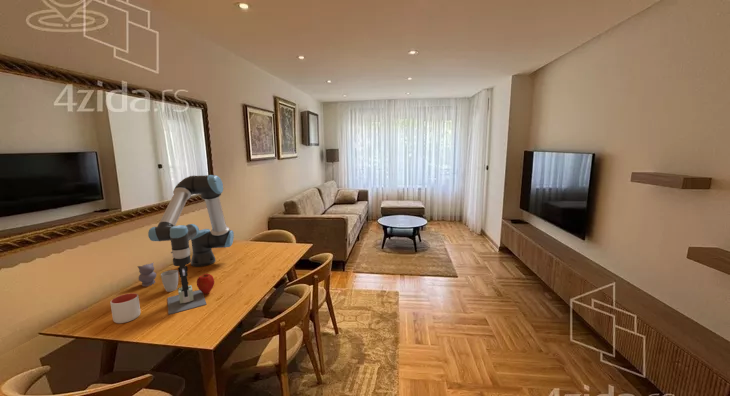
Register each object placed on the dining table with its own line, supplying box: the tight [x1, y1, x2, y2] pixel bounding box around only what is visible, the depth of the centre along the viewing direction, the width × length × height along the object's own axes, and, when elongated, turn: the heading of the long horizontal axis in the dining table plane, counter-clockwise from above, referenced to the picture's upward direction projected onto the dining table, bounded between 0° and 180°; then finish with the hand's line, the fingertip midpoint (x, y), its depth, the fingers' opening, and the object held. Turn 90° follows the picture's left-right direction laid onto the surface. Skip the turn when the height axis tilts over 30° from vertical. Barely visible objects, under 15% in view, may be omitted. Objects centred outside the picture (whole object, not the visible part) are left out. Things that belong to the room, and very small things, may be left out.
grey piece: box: [167, 289, 207, 316], centre depth 151 cm, size 20×16×5 cm
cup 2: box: [160, 269, 179, 293], centre depth 165 cm, size 8×8×10 cm
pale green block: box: [177, 284, 194, 304], centre depth 151 cm, size 6×6×7 cm
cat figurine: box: [137, 262, 157, 287], centre depth 172 cm, size 8×8×12 cm
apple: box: [196, 273, 215, 295], centre depth 160 cm, size 9×8×11 cm
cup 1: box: [109, 292, 141, 324], centre depth 136 cm, size 10×10×10 cm
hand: (186, 299), depth 152 cm, fingers closed on pale green block, 6 cm apart
